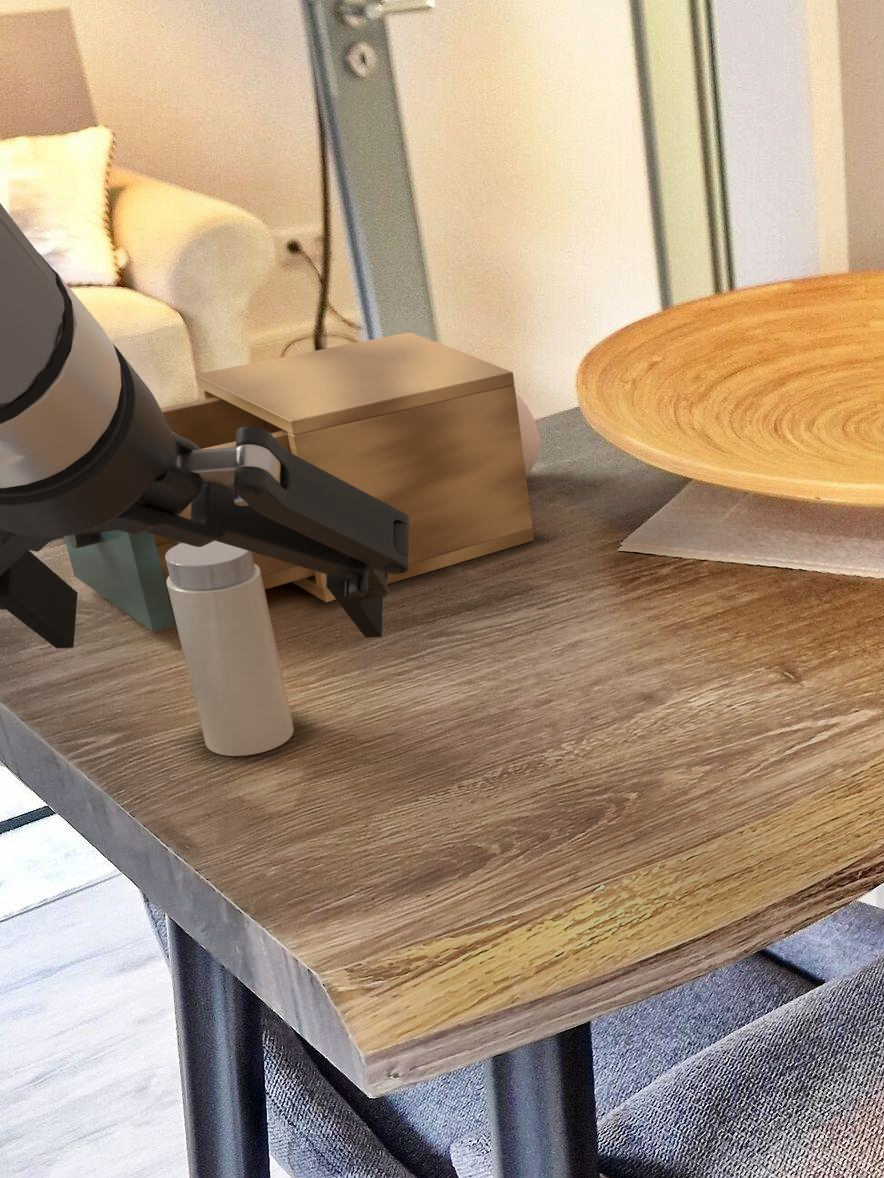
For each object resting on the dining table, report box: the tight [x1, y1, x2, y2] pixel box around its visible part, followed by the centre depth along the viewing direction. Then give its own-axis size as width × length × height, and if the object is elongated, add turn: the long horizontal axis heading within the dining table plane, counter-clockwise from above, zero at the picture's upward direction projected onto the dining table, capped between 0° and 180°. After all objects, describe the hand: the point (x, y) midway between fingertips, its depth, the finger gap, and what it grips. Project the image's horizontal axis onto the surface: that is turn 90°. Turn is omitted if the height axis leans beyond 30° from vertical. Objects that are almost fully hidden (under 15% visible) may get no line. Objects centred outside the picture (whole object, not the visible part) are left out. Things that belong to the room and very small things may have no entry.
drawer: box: [63, 397, 315, 633], centre depth 95 cm, size 14×10×9 cm
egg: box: [516, 393, 540, 477], centre depth 112 cm, size 5×5×7 cm
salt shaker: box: [165, 541, 295, 757], centre depth 80 cm, size 4×4×10 cm
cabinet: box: [195, 331, 535, 603], centre depth 101 cm, size 14×12×11 cm
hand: (222, 615), depth 79 cm, fingers open, 13 cm apart
